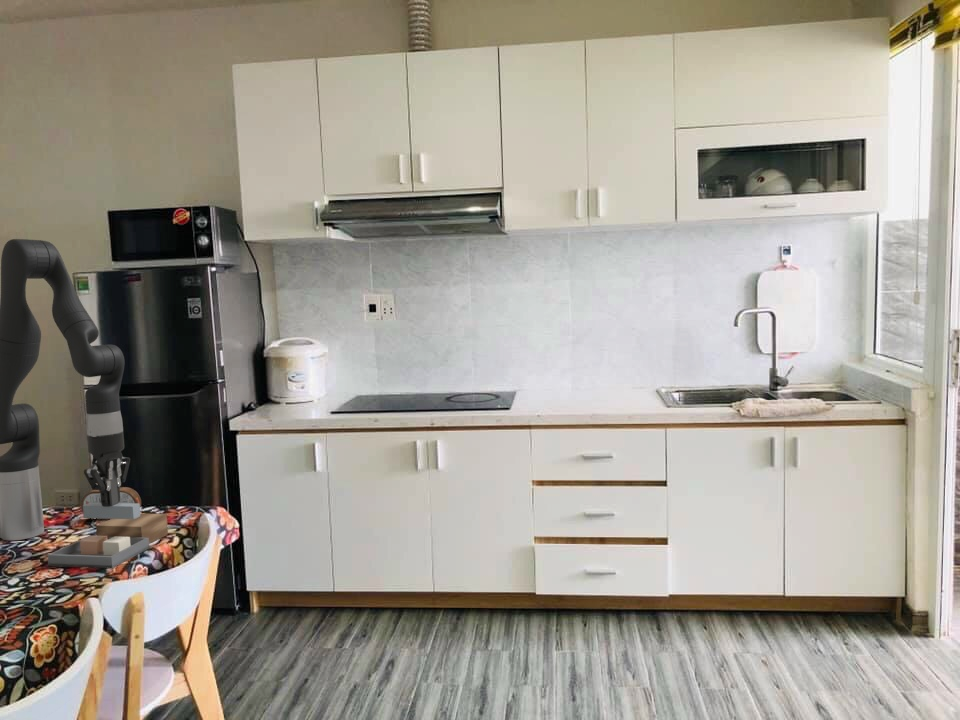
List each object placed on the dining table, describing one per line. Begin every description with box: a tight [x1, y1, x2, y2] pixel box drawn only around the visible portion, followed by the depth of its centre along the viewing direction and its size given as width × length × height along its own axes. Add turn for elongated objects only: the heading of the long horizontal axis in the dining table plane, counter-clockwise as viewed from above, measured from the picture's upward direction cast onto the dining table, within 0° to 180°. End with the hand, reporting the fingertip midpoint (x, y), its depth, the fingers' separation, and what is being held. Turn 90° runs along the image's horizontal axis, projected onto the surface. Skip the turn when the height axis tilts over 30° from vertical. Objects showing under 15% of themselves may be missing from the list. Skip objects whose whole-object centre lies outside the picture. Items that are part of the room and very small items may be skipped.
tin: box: [81, 486, 142, 520], centre depth 200 cm, size 15×3×8 cm, turn 92°
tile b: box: [103, 536, 131, 555], centre depth 171 cm, size 4×4×3 cm
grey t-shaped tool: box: [82, 470, 141, 519], centre depth 174 cm, size 13×2×11 cm, turn 80°
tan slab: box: [95, 513, 169, 545], centre depth 181 cm, size 12×10×5 cm
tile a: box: [80, 535, 108, 554], centre depth 172 cm, size 4×4×3 cm
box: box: [47, 535, 150, 569], centre depth 170 cm, size 16×13×2 cm
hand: (111, 504), depth 174 cm, fingers closed on grey t-shaped tool, 2 cm apart
